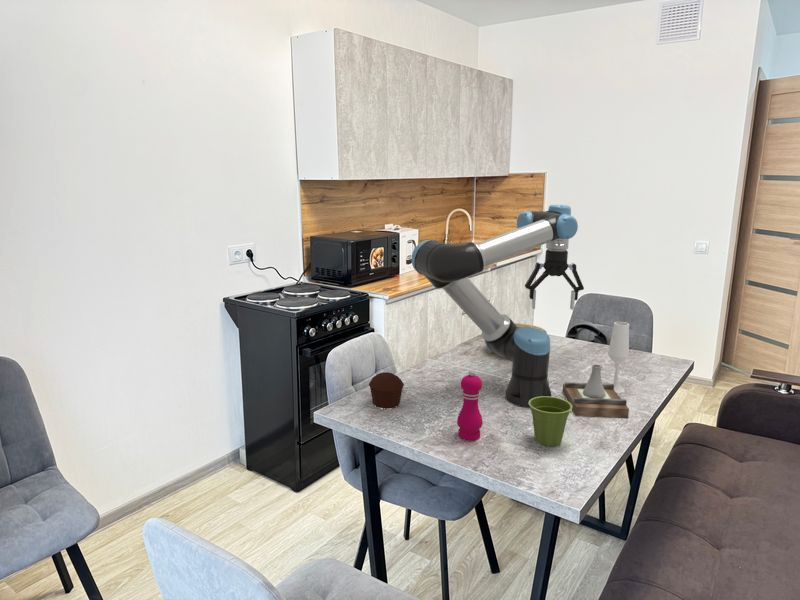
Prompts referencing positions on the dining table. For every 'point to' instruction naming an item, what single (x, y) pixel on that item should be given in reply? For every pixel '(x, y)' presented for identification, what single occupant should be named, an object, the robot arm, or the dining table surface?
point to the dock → (595, 402)
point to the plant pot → (549, 419)
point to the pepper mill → (470, 408)
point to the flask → (595, 383)
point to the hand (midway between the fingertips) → (552, 308)
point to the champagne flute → (619, 349)
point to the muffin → (386, 390)
